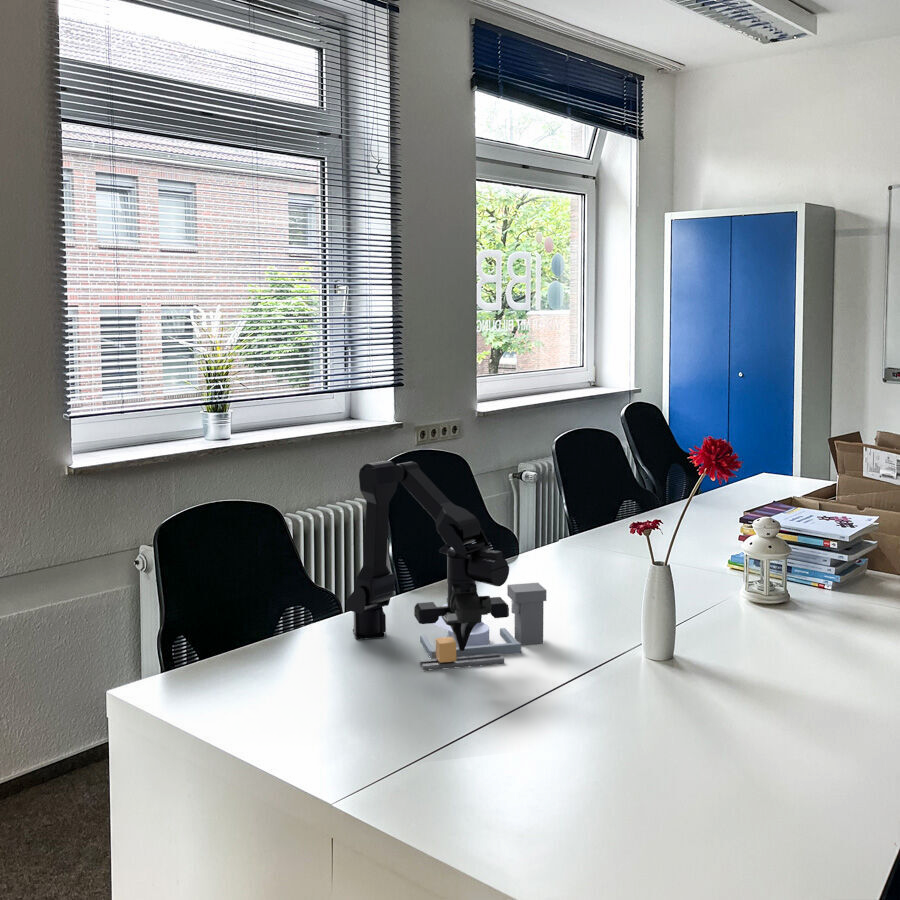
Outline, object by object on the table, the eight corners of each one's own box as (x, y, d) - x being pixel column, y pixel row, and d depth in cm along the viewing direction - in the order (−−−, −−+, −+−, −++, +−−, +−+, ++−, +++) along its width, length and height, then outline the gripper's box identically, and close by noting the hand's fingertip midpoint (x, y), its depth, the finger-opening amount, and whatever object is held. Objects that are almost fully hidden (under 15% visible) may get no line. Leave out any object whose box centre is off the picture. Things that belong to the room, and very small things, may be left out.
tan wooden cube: (439, 667, 202) (439, 643, 201) (435, 661, 205) (435, 638, 205) (456, 665, 203) (456, 642, 202) (452, 659, 206) (452, 636, 206)
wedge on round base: (429, 636, 222) (465, 652, 212) (428, 607, 221) (465, 622, 211) (460, 628, 227) (497, 643, 217) (460, 600, 226) (497, 613, 216)
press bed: (431, 660, 207) (430, 604, 205) (420, 641, 219) (419, 587, 217) (551, 650, 213) (552, 595, 211) (534, 632, 224) (534, 579, 223)
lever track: (423, 670, 201) (423, 666, 201) (419, 664, 205) (419, 660, 205) (504, 663, 205) (504, 658, 205) (499, 657, 209) (499, 652, 208)
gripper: (424, 591, 192) (425, 668, 195) (517, 584, 197) (516, 660, 199) (413, 575, 203) (414, 649, 206) (501, 569, 207) (501, 641, 210)
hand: (461, 650), depth 205 cm, fingers closed
